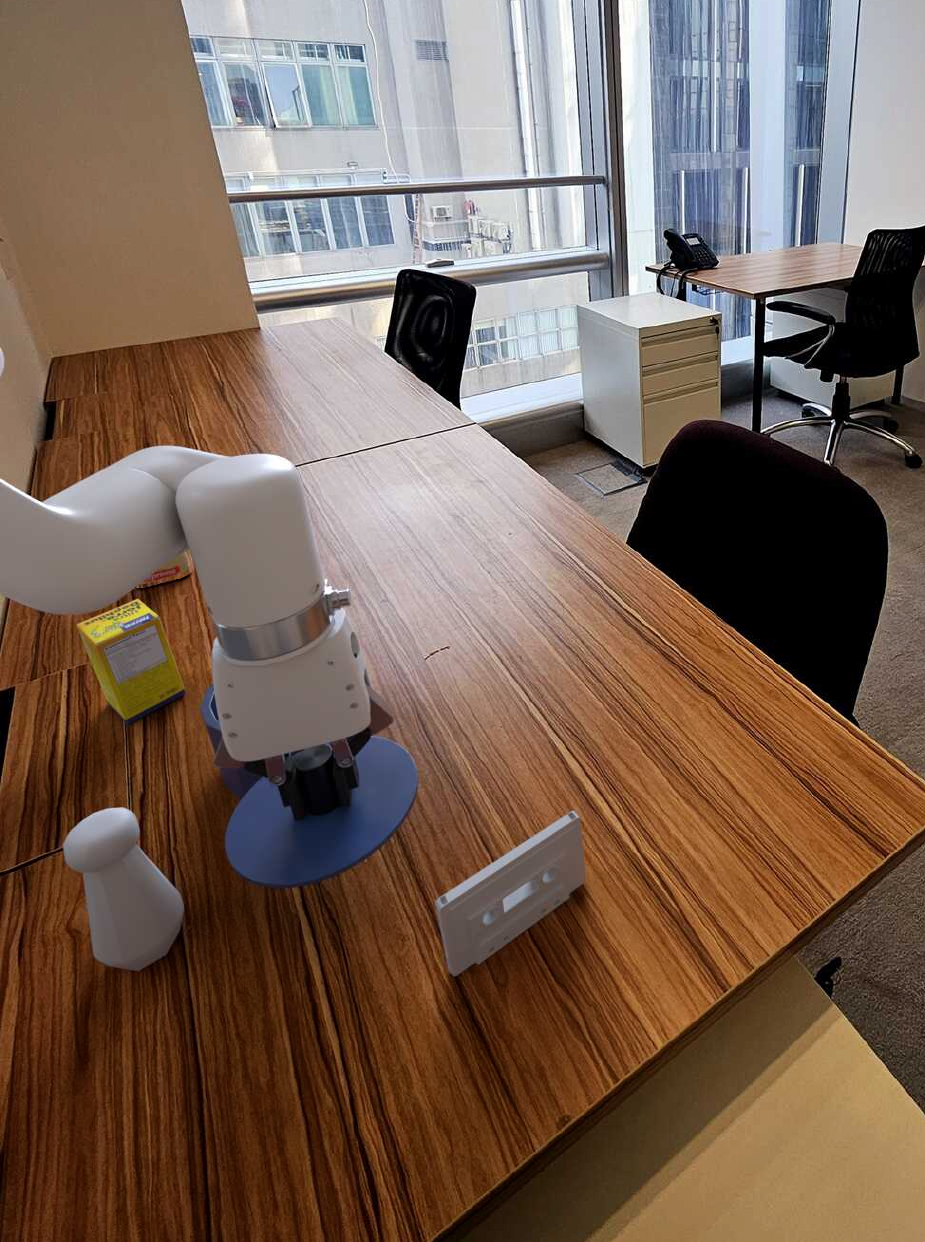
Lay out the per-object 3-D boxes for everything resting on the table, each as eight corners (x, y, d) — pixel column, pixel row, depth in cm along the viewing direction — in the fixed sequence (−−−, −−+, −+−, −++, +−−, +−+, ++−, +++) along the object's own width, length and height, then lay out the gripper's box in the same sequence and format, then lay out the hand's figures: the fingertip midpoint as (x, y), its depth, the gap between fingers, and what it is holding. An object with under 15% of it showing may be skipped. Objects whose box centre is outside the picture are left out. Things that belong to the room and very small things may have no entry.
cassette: (578, 869, 64) (572, 804, 61) (590, 885, 62) (584, 819, 60) (445, 964, 57) (430, 896, 54) (455, 984, 55) (441, 915, 52)
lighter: (132, 592, 103) (110, 530, 99) (134, 579, 106) (113, 518, 102) (192, 577, 106) (174, 516, 103) (193, 565, 109) (174, 505, 106)
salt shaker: (84, 966, 57) (25, 846, 52) (158, 898, 62) (110, 783, 57) (136, 995, 55) (79, 873, 50) (208, 923, 60) (162, 806, 55)
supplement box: (165, 674, 87) (138, 596, 83) (187, 694, 84) (160, 615, 80) (105, 704, 83) (74, 623, 79) (127, 726, 80) (95, 644, 75)
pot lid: (209, 922, 53) (187, 863, 51) (245, 771, 66) (229, 718, 64) (422, 856, 58) (409, 799, 56) (417, 727, 71) (407, 676, 69)
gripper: (392, 569, 61) (426, 740, 68) (161, 613, 55) (223, 794, 62) (392, 622, 54) (429, 805, 61) (129, 677, 49) (202, 871, 56)
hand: (324, 798), depth 62 cm, fingers closed on pot lid, 2 cm apart
